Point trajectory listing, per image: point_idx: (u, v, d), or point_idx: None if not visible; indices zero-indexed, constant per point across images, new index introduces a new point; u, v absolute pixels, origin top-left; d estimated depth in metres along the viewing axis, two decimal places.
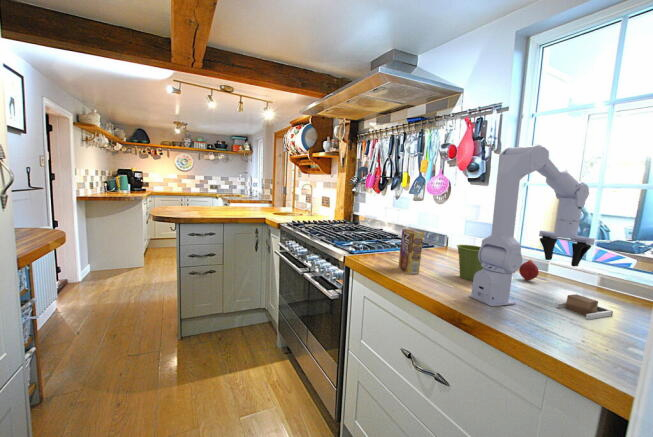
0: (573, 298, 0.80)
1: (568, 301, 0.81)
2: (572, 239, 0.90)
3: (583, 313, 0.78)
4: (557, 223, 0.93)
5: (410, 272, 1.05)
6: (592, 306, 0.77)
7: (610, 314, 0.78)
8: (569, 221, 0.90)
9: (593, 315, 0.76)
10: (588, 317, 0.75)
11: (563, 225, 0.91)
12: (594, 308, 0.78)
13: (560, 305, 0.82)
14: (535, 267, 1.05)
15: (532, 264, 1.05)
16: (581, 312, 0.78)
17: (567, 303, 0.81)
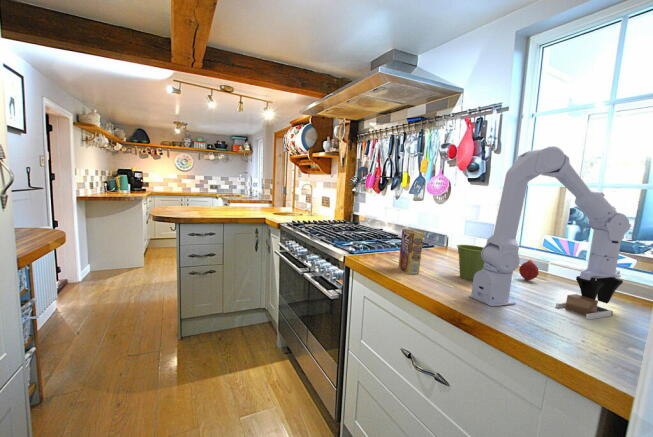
0: (573, 298, 0.80)
1: (568, 301, 0.81)
2: None
3: (583, 313, 0.78)
4: None
5: (410, 272, 1.05)
6: (592, 305, 0.77)
7: (610, 314, 0.78)
8: (590, 254, 0.82)
9: (593, 315, 0.76)
10: (588, 317, 0.75)
11: None
12: (594, 308, 0.78)
13: (560, 305, 0.82)
14: (535, 267, 1.05)
15: (532, 264, 1.05)
16: (581, 312, 0.78)
17: (567, 303, 0.81)
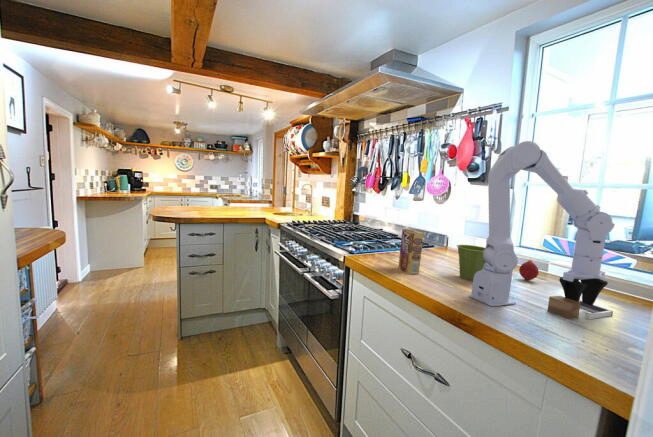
0: (555, 299, 0.77)
1: (550, 302, 0.78)
2: None
3: (564, 315, 0.75)
4: None
5: (410, 272, 1.05)
6: (574, 307, 0.75)
7: (610, 314, 0.78)
8: None
9: (593, 315, 0.76)
10: (588, 317, 0.75)
11: None
12: (576, 310, 0.75)
13: None
14: (535, 267, 1.05)
15: (532, 264, 1.05)
16: (562, 314, 0.75)
17: (549, 305, 0.79)
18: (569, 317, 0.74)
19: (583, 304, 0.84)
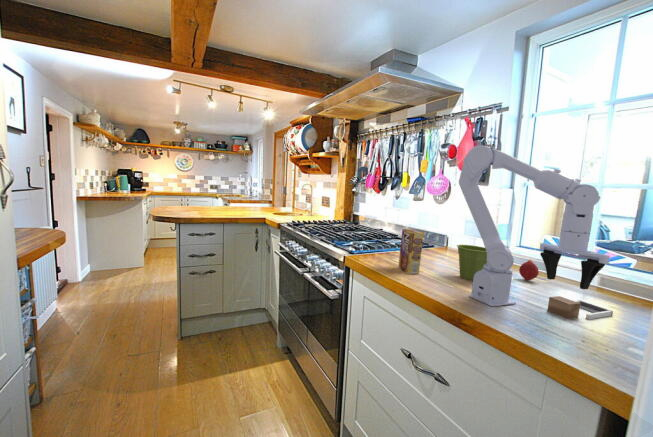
0: (555, 300, 0.77)
1: (550, 303, 0.78)
2: (581, 255, 0.72)
3: (564, 315, 0.75)
4: (562, 235, 0.75)
5: (410, 272, 1.05)
6: (574, 308, 0.75)
7: (610, 314, 0.78)
8: (577, 233, 0.72)
9: (593, 315, 0.76)
10: (588, 317, 0.75)
11: (570, 238, 0.73)
12: (576, 310, 0.75)
13: None
14: (535, 267, 1.05)
15: (531, 264, 1.05)
16: (562, 314, 0.75)
17: (549, 305, 0.79)
18: (569, 317, 0.74)
19: (583, 304, 0.84)
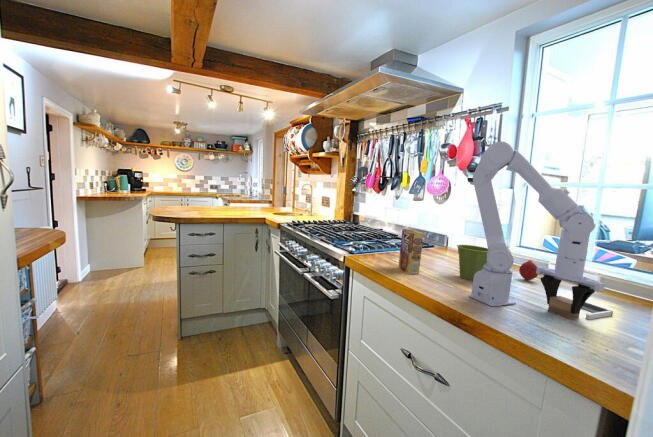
0: (555, 300, 0.77)
1: (550, 303, 0.78)
2: (576, 282, 0.73)
3: (565, 315, 0.75)
4: (558, 261, 0.76)
5: (410, 272, 1.05)
6: None
7: (610, 314, 0.78)
8: (573, 260, 0.73)
9: (593, 315, 0.76)
10: (588, 317, 0.75)
11: (565, 264, 0.74)
12: None
13: None
14: (535, 267, 1.05)
15: (532, 264, 1.05)
16: (563, 314, 0.75)
17: (550, 305, 0.78)
18: (570, 317, 0.74)
19: (583, 304, 0.84)
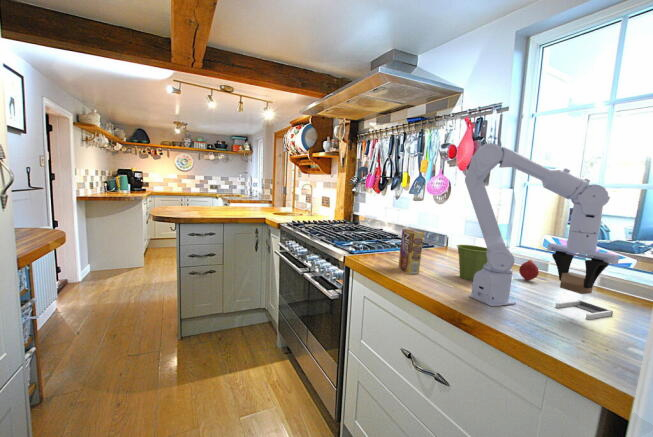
0: (568, 275, 0.76)
1: (562, 279, 0.77)
2: (590, 256, 0.72)
3: (578, 290, 0.74)
4: (570, 235, 0.75)
5: (410, 272, 1.05)
6: None
7: (610, 314, 0.78)
8: (586, 233, 0.72)
9: (593, 315, 0.76)
10: (588, 317, 0.75)
11: (578, 238, 0.73)
12: None
13: (560, 305, 0.82)
14: (535, 267, 1.05)
15: (532, 264, 1.05)
16: (576, 289, 0.74)
17: (562, 281, 0.77)
18: (583, 292, 0.73)
19: (583, 304, 0.84)
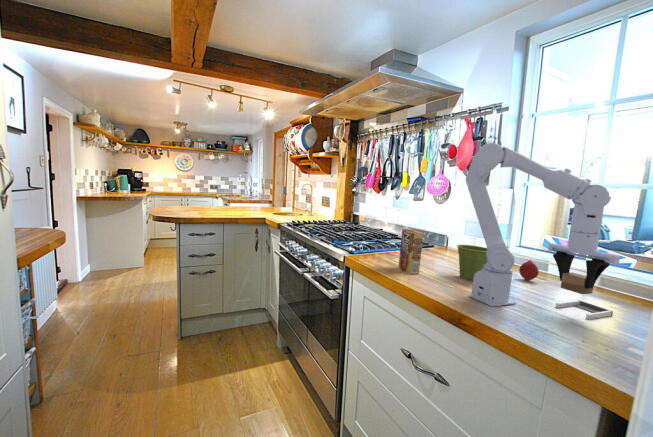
0: (568, 275, 0.76)
1: (563, 279, 0.77)
2: (591, 256, 0.72)
3: (579, 290, 0.74)
4: (571, 235, 0.75)
5: (410, 272, 1.05)
6: None
7: (610, 314, 0.78)
8: (587, 233, 0.72)
9: (593, 315, 0.76)
10: (588, 317, 0.75)
11: (579, 238, 0.73)
12: None
13: (560, 305, 0.82)
14: (535, 267, 1.05)
15: (532, 264, 1.05)
16: (577, 289, 0.74)
17: (562, 281, 0.77)
18: (584, 292, 0.73)
19: (583, 304, 0.84)
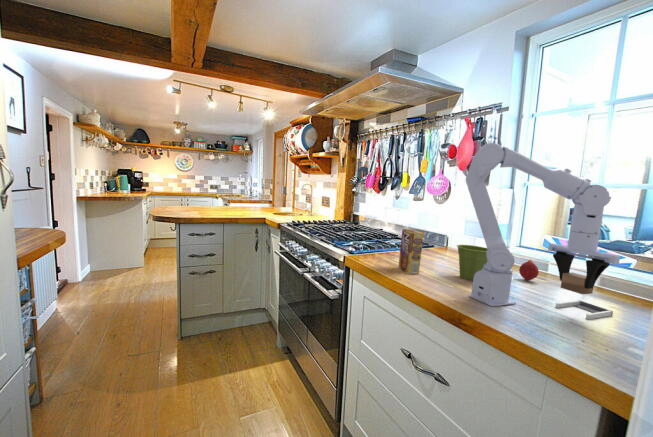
0: (568, 275, 0.76)
1: (563, 279, 0.77)
2: (591, 256, 0.72)
3: (579, 290, 0.74)
4: (571, 235, 0.75)
5: (410, 272, 1.05)
6: None
7: (610, 314, 0.78)
8: (587, 233, 0.72)
9: (593, 315, 0.76)
10: (588, 317, 0.75)
11: (579, 238, 0.73)
12: None
13: (560, 305, 0.82)
14: (535, 267, 1.05)
15: (532, 264, 1.05)
16: (577, 289, 0.74)
17: (562, 281, 0.77)
18: (584, 292, 0.73)
19: (583, 304, 0.84)
